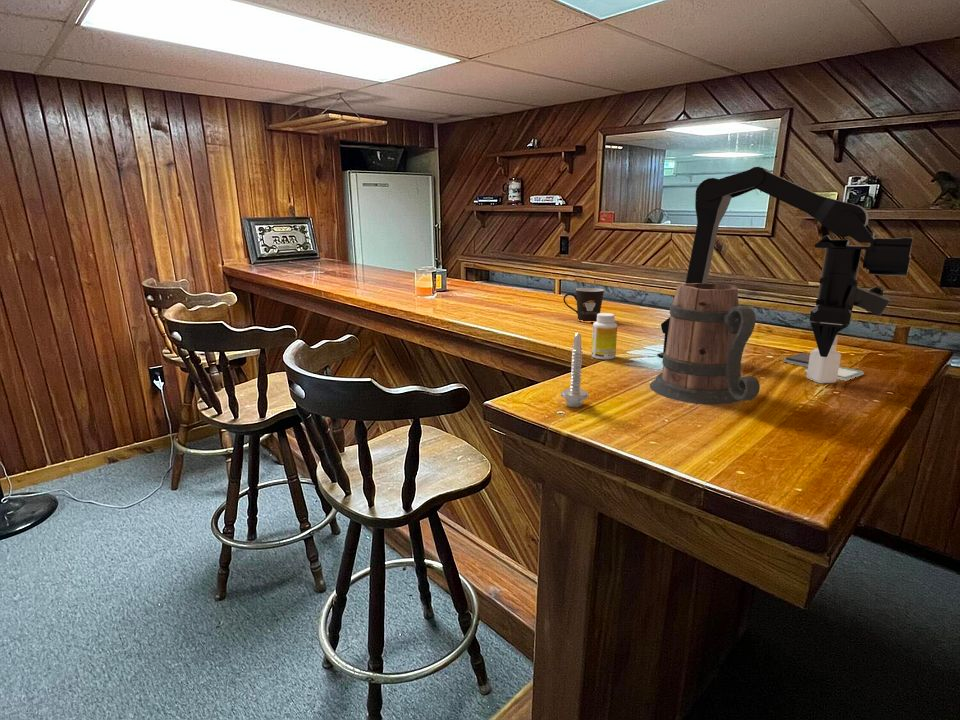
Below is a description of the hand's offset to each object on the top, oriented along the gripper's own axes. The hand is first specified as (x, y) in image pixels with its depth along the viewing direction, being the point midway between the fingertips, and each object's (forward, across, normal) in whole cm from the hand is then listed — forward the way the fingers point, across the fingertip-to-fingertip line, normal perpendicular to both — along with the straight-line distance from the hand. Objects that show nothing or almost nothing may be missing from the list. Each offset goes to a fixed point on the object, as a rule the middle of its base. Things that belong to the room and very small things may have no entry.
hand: (825, 351), depth 106 cm
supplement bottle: (+6, -8, +43) cm, 44 cm away
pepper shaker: (+6, 0, 0) cm, 6 cm away
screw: (+6, -42, +34) cm, 54 cm away
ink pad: (+6, +14, +3) cm, 16 cm away
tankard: (+6, -23, +17) cm, 29 cm away
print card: (+6, +8, -2) cm, 10 cm away
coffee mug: (+6, +32, +66) cm, 74 cm away
